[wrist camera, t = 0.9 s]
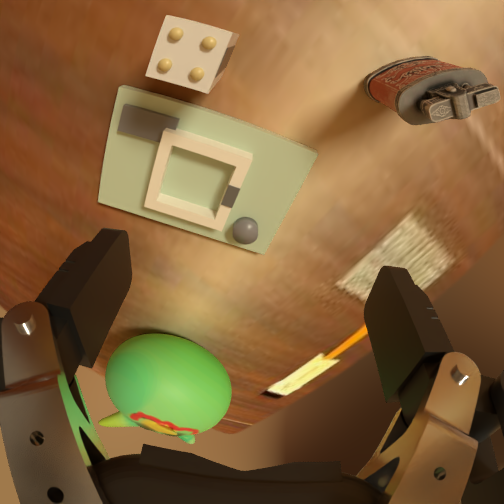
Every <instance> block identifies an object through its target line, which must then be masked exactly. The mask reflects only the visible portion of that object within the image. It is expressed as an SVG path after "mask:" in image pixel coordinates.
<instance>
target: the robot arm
mask: <svg viewBox="0 0 504 504" xmlns="http://www.w3.org/2000/svg"><path fill="white" fill-rule="evenodd" d="M131 280H132V268H131V259H130V249H129V239H128V234H127V232H126V231H125V230H117V229H109V228H103V229H101V230H100V232H99V233H98V234H97V235H96V236H95V238H94V239H93V240H92V241H91V242H88V241H87V242H85V243H84V244H82V245H81V246H79V247H77V248H76V249H74V250H73V252H72V253H71V254H70V255H69V257H68V258H67V259H66V262H64V263H63V264H62V265H61V267H60V268H59V271H57V272H56V273H55V274H54V276H53V277H52V278H51V280H50V281H49V282H48V284H47V285H46V286H45V288H44V289H43V290H42V292H41V293H40V294H39V296H38V297H37V299H36V300H35V301H34V302H33V301H29V302H23V303H20V304H18V305H16V306H14V307H13V308H11V309H10V310H9V311H8V312H7V313H6V315H5V316H4V318H0V425H1V431H2V436H3V441H4V446H5V450H6V455H7V459H8V463H9V467H10V471H11V475H12V478H13V482H14V485H15V488H16V492H17V494H18V498H19V501H20V504H459V503H460V501H461V503H462V504H504V468H503V469H502V470H500V471H498V467H497V463H496V459H495V454H494V451H493V446H492V442H491V438H490V435H492V434H493V433H494V432H495V431H497V430H498V429H499V428H500V427H501V429H502V433H503V436H504V370H503V372H502V373H501V374H500V375H499V376H498V377H497V378H496V379H494V378H490V377H486V376H483V375H480V372H479V370H478V368H477V366H476V365H475V363H474V362H473V361H472V360H471V359H470V358H468V357H467V356H466V355H464V354H461V353H458V352H454V350H453V347H452V345H451V343H450V341H449V339H448V337H447V334H446V332H445V330H444V328H443V326H442V324H441V322H440V320H439V319H438V316H437V314H436V312H435V310H433V306H432V304H431V302H430V300H429V298H428V296H427V295H426V294H425V293H424V292H423V291H422V290H421V289H420V288H419V287H418V286H417V285H415V284H414V282H413V280H412V278H411V276H410V274H409V272H408V271H407V269H405V268H400V267H392V266H383V267H382V268H381V269H380V271H379V273H378V276H377V278H376V280H375V283H374V285H373V287H372V290H371V292H370V294H369V296H368V299H367V301H366V304H365V308H364V320H365V324H366V327H367V331H368V334H369V338H370V341H371V345H372V349H373V352H374V356H375V360H376V363H377V367H378V371H379V375H380V379H381V383H382V387H383V392H384V396H385V400H386V403H387V402H400V404H401V408H400V409H399V410H398V411H397V413H396V415H395V417H394V419H393V421H392V423H391V424H390V426H389V428H388V430H387V432H386V434H385V436H384V437H383V439H382V441H381V443H380V445H379V446H378V448H377V450H376V452H375V453H374V455H373V456H372V458H371V459H370V461H369V462H368V463H367V464H366V465H365V466H364V468H363V469H362V470H361V471H360V472H359V473H358V475H357V476H353V475H350V474H347V473H343V472H341V464H340V461H335V462H293V463H288V464H283V465H278V466H274V467H268V468H262V469H256V470H250V471H240V470H236V469H233V468H230V467H227V466H225V465H222V464H219V463H216V462H213V461H210V460H208V459H205V458H203V457H200V456H197V455H195V454H192V453H187V452H181V451H176V450H171V449H166V448H161V447H156V446H151V445H146V444H143V447H142V451H141V454H131V455H123V456H118V457H114V458H109V456H108V454H107V452H106V450H105V448H104V446H103V444H102V442H101V440H100V438H99V437H98V435H97V433H96V430H95V428H94V426H93V423H92V421H91V419H90V415H89V412H88V410H87V407H86V404H85V401H84V398H83V395H82V393H81V389H80V386H79V383H78V380H77V377H76V375H75V373H76V371H77V368H78V366H79V365H82V366H85V367H89V368H92V367H93V365H94V363H95V361H96V358H97V356H98V354H99V352H100V349H101V347H102V345H103V343H104V340H105V338H106V336H107V334H108V332H109V330H110V328H111V325H112V323H113V321H114V319H115V317H116V315H117V313H118V311H119V309H120V307H121V305H122V303H123V301H124V299H125V297H126V295H127V293H128V291H129V288H130V285H131Z"/></svg>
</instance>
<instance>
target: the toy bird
mask: <svg viewBox="0 0 504 504" xmlns="http://www.w3.org/2000/svg"><path fill="white" fill-rule="evenodd" d="M105 381H106V388H107V391H108V394H109V397H110V399H111V400H112V402H113V404H114V405H115V406H116V408H117V409H118V410H119V411H118V412H117V413H114V414H112V415H110V416H108V417H105V418H103V419H101V420H100V421H99V422H98V423H99V424H100V425H102V426H106V427H131V426H140V427H142V428H144V429H147V430H151V431H154V432H157V433H161V434H166V435H169V436H178V437H179V438H181V439H182V440H184V441H185V442H187V443H189V444H193V443H194V442H195V437H194V434H197V433H201V432H203V431H206V430H208V429H210V428H212V427H213V426H214V425H216V424H217V423H218V422H219V421H220V420H221V419H222V418H223V416H224V415H225V413H226V411H227V409H228V407H229V404H230V401H231V383H230V379H229V376H228V374H227V372H226V370H225V368H224V367H223V365H222V364H221V363H220V361H219V360H218V359H217V358H216V357H215V356H214V355H212V354H211V353H210V352H209V351H207V350H206V349H204V348H203V347H201V346H200V345H198V344H196V343H194V342H192V341H189V340H187V339H184V338H181V337H177V336H173V335H168V334H156V333H153V334H143V335H138V336H135V337H132V338H130V339H128V340H126V341H125V342H123V343H122V344H121V345H120V346H119V347H118V348H117V349H116V350H115V351H114V352H113V354H112V355H111V357H110V359H109V361H108V364H107V368H106V374H105Z"/></svg>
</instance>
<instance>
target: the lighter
mask: <svg viewBox="0 0 504 504" xmlns="http://www.w3.org/2000/svg"><path fill="white" fill-rule="evenodd" d="M364 89H365V92H366V94H367V95H368V96H369V97H370V98H371V99H373V100H374V101H376V102H379V103H383V104H384V105H386V106H388V107H389V108H391V109H392V110H394V111H395V112H397V113H398V115H399V116H400V117H401V118H402V119H403V120H404V121H406V122H407V123H409V124H411V125H421V124H428V123H436V122H439V121H443V120H447V119H465V118H468V117H469V116H470V113H471V110H474V109H478V108H481V107H484V106H487V105H490V104H493V103H496V102H498V101H499V100H500V92H499V89H498V87H497V86H494V85H492V84H489V83H488V81H487V78H486V77H485V75H484V74H483V73H482V72H481V71H479V70H476V69H473V68H462V67H459V66H455V65H452V64H448V63H445V62H441V61H439V60H438V59H437V58H433V57H429V56H422V57H411V58H406V59H401V60H397V61H395V62H392V63H389V64H387V65H384V66H382V67H380V68H379V69H377V70H375V71H374V72H372V73H370V74H369V75H368V76H366V78H365V80H364Z"/></svg>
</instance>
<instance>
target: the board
mask: <svg viewBox="0 0 504 504" xmlns="http://www.w3.org/2000/svg"><path fill="white" fill-rule="evenodd" d="M317 156H318V153H317V150H314V149H312V148H310V147H308V146H305V145H303V144H301V143H298V142H296V141H293V140H291V139H289V138H286V137H284V136H281V135H279V134H276V133H274V132H271V131H269V130H266V129H263V128H261V127H258V126H256V125H253V124H250V123H247V122H245V121H242V120H239V119H236V118H234V117H231V116H228V115H225V114H222V113H219V112H216V111H213V110H210V109H207V108H204V107H201V106H198V105H195V104H191V103H188V102H185V101H181V100H178V99H175V98H171V97H168V96H164V95H161V94H157V93H153V92H150V91H146V90H142V89H138V88H134V87H130V86H126V85H122V86H120V87H119V90H118V94H117V98H116V102H115V106H114V110H113V115H112V119H111V124H110V129H109V134H108V139H107V145H106V150H105V156H104V162H103V168H102V175H101V182H100V189H99V197H98V202H100V203H103V204H106V205H109V206H112V207H115V208H118V209H122V210H125V211H128V212H131V213H134V214H137V215H140V216H144V217H147V218H150V219H153V220H156V221H159V222H162V223H166V224H169V225H172V226H175V227H178V228H181V229H184V230H188V231H191V232H194V233H197V234H200V235H203V236H206V237H209V238H213V239H216V240H219V241H222V242H225V243H228V244H231V245H235V246H238V247H241V248H244V249H247V250H250V251H253V252H257V253H260V254H263V255H264V254H265V252H266V250H267V249H268V247H269V245H270V243H271V241H272V239H273V238H274V236H275V234H276V232H277V230H278V228H279V226H280V225H281V223H282V221H283V219H284V217H285V215H286V214H287V212H288V210H289V208H290V206H291V204H292V203H293V201H294V199H295V197H296V195H297V193H298V191H299V190H300V188H301V186H302V184H303V182H304V180H305V178H306V177H307V175H308V173H309V171H310V169H311V167H312V165H313V164H314V162H315V160H316V158H317Z"/></svg>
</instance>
